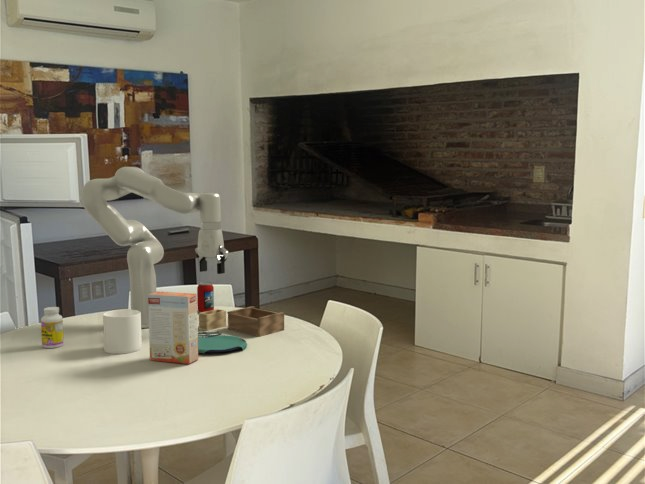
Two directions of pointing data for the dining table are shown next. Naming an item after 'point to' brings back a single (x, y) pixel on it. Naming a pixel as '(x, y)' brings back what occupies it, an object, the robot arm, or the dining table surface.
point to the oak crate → (212, 319)
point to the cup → (122, 331)
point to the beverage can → (205, 297)
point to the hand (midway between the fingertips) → (212, 272)
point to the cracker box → (173, 327)
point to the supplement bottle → (52, 328)
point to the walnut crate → (255, 321)
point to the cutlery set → (219, 342)
